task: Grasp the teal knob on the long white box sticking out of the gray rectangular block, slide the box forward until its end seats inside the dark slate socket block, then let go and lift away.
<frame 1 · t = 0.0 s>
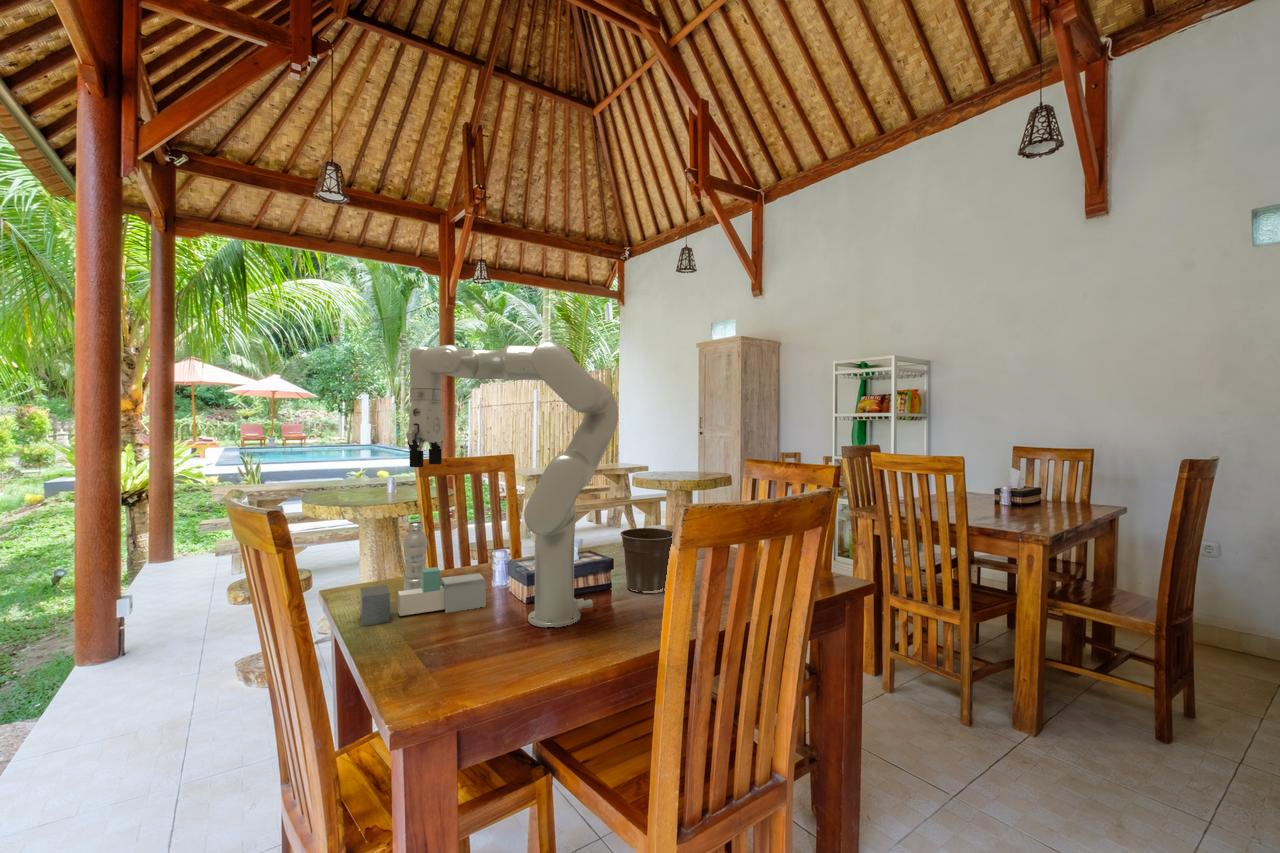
hand: (426, 465, 143), 37 cm above the table, tool pointing down, fingers open, 9 cm apart
gray rectangular block: (463, 606, 150), on the table
plastic bottle: (416, 594, 160), on the table
socket block: (374, 619, 140), on the table
long white box: (439, 588, 147), point 5 cm above the table, slide at 0.0 cm
plant pot: (648, 589, 166), on the table
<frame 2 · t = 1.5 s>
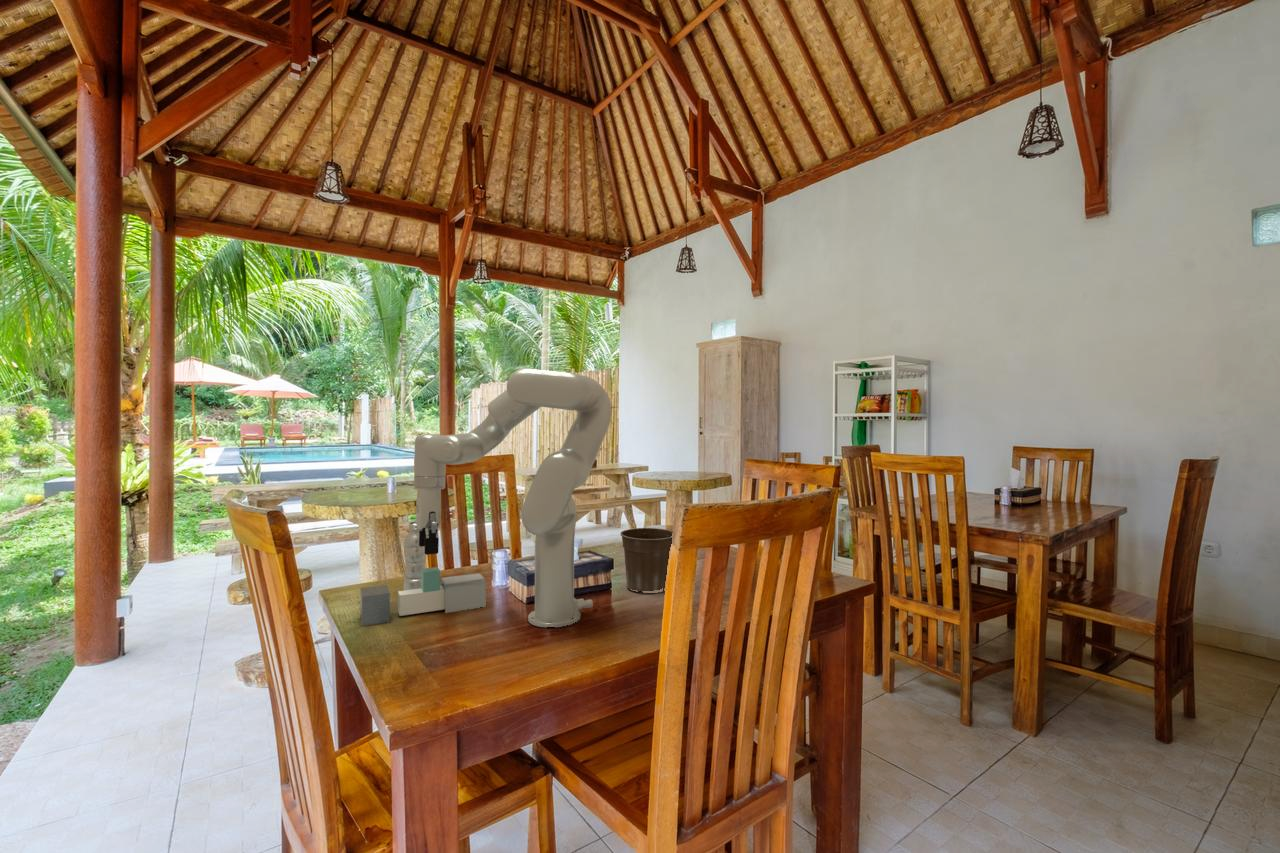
hand: (428, 549, 146), 16 cm above the table, tool pointing down, fingers open, 9 cm apart
nothing on the table moved.
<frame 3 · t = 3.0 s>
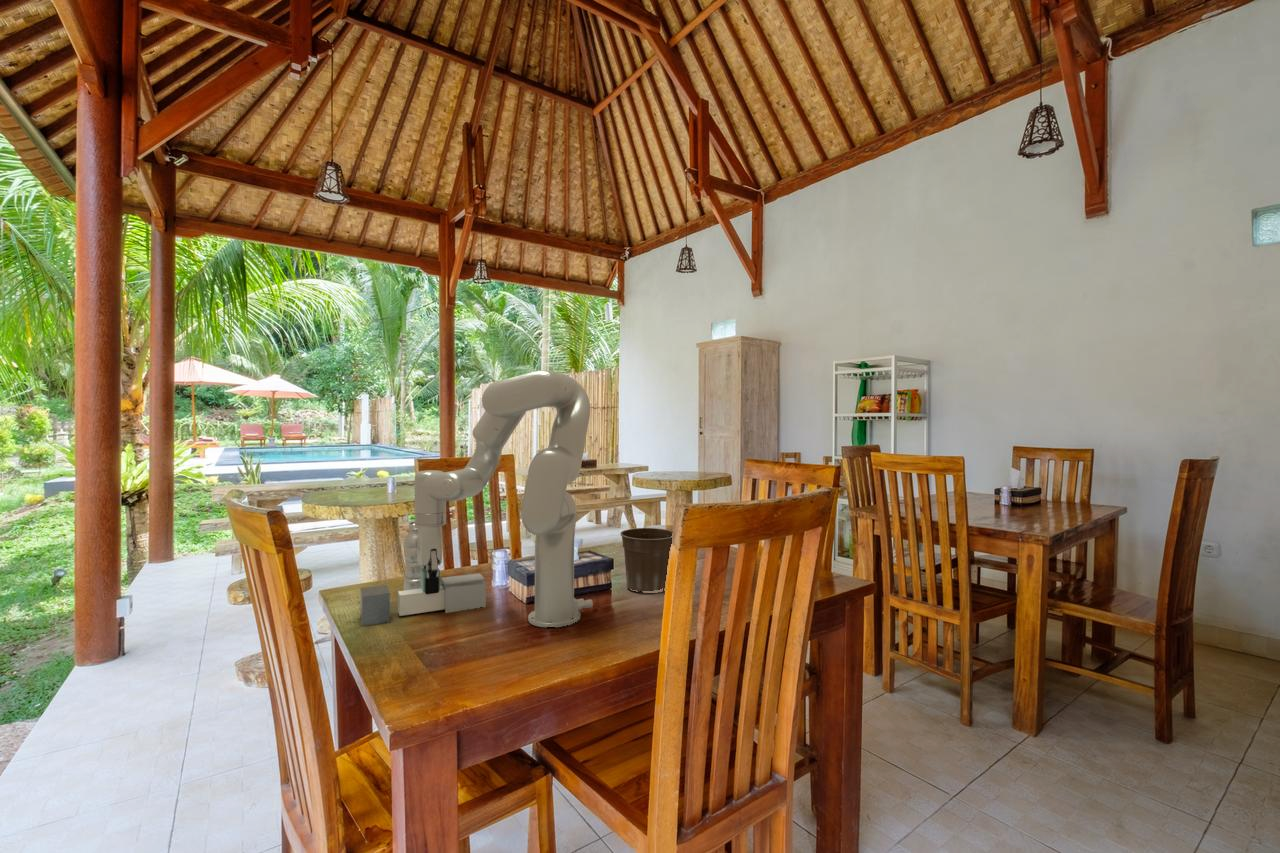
hand: (430, 590, 146), 5 cm above the table, tool pointing down, fingers closed on long white box, 4 cm apart
long white box: (439, 588, 147), point 5 cm above the table, slide at 0.0 cm, touching gripper
everything else where it was.
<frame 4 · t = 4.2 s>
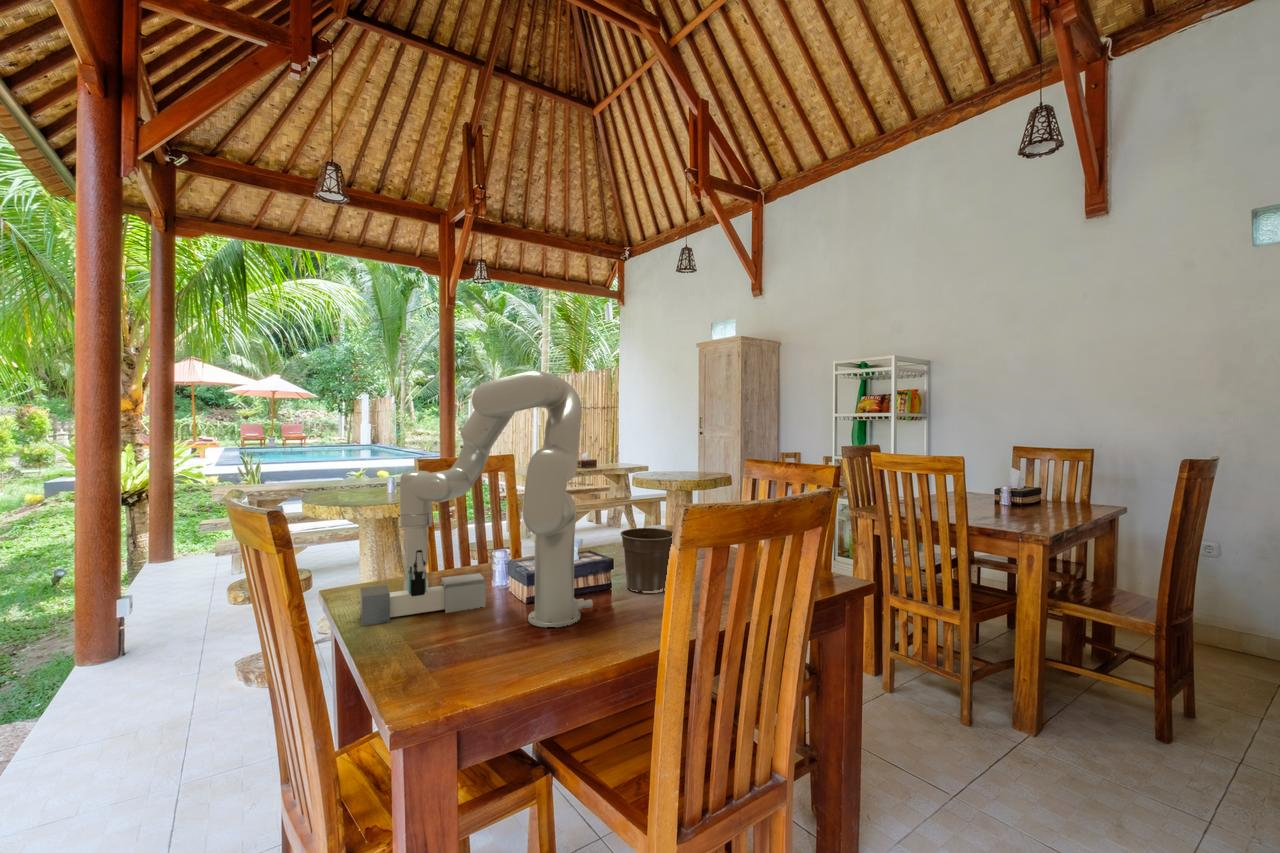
hand: (416, 591, 144), 5 cm above the table, tool pointing down, fingers closed on long white box, 4 cm apart
long white box: (426, 589, 145), point 5 cm above the table, slide at 3.3 cm, touching gripper
everything else where it was.
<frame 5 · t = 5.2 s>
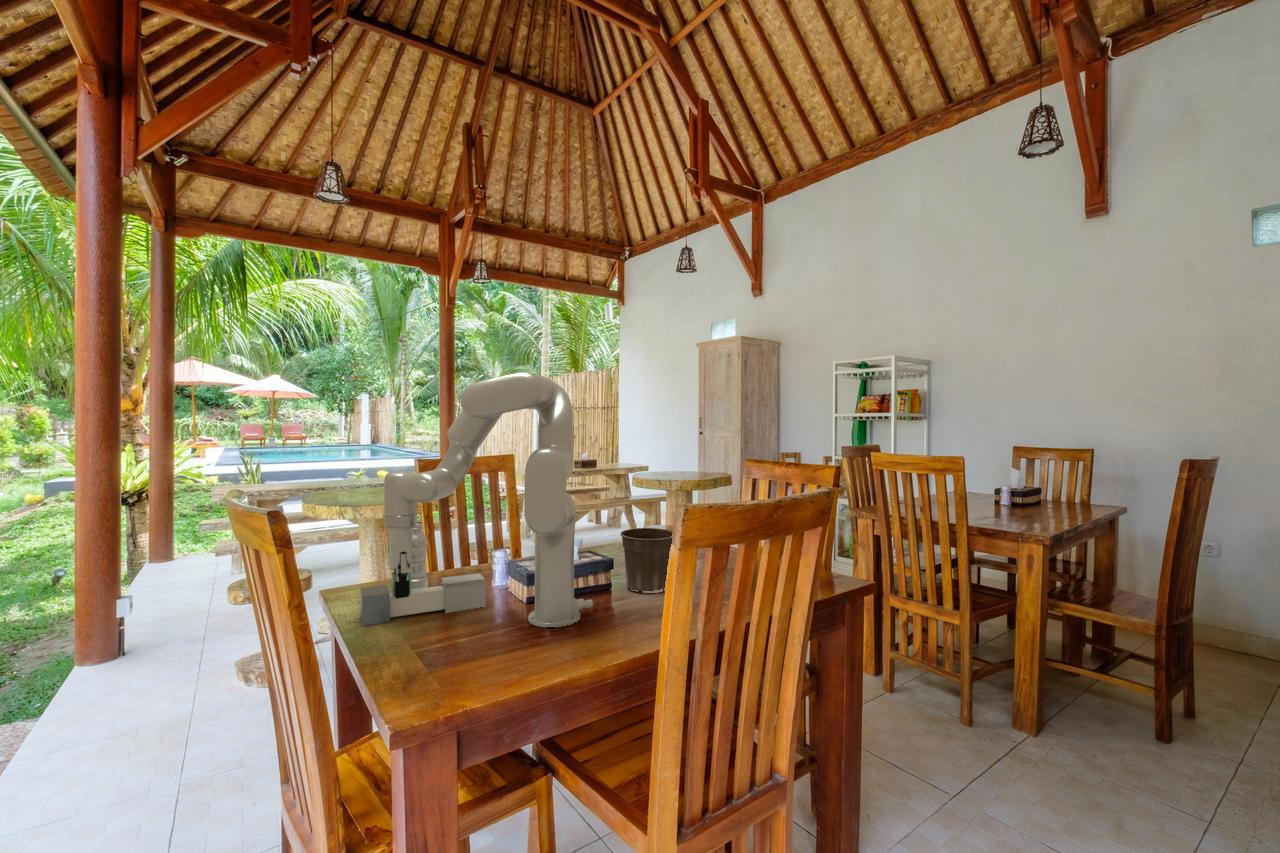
hand: (401, 593, 142), 5 cm above the table, tool pointing down, fingers closed on long white box, 4 cm apart
long white box: (410, 591, 143), point 5 cm above the table, slide at 7.0 cm, touching gripper
everything else where it was.
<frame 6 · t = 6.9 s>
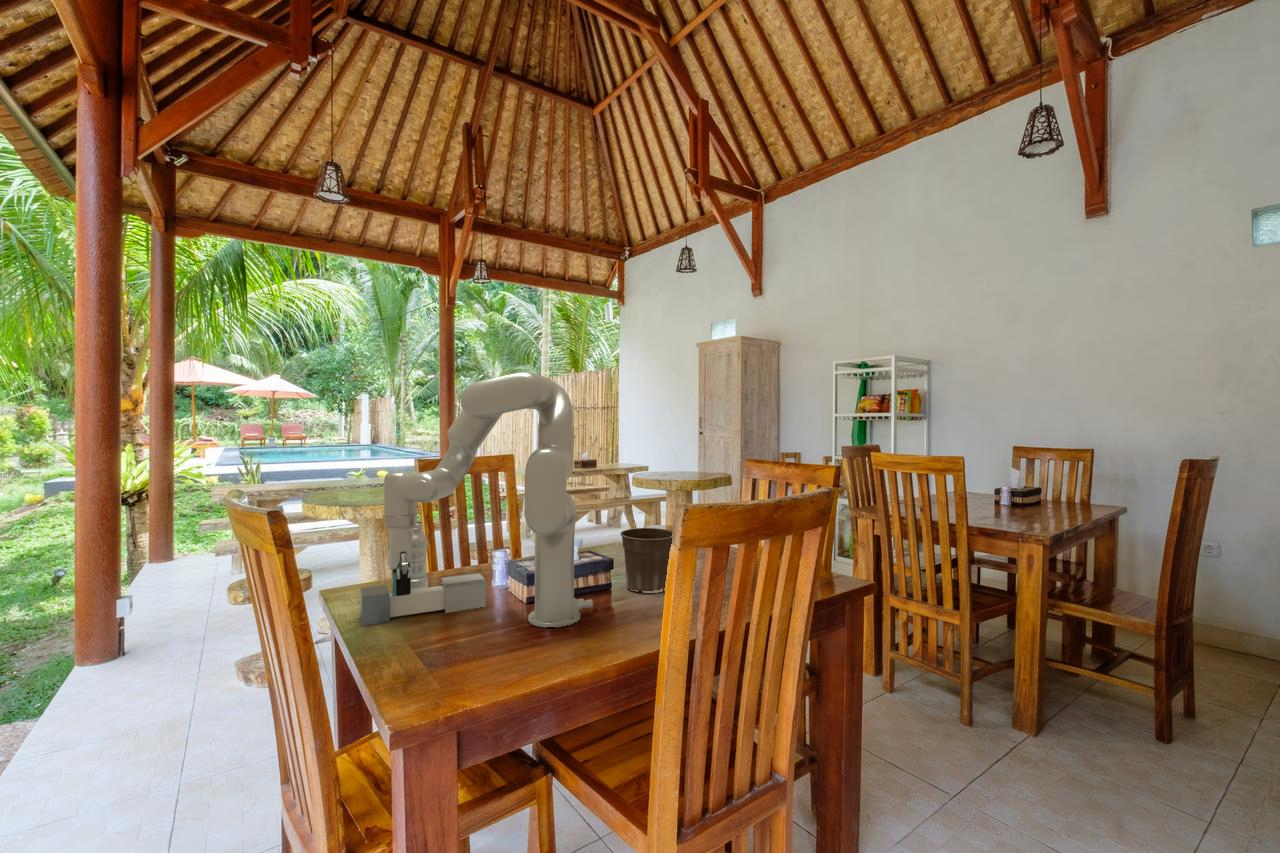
hand: (401, 589, 142), 6 cm above the table, tool pointing down, fingers open, 9 cm apart
long white box: (410, 591, 143), point 5 cm above the table, slide at 7.0 cm
everything else where it was.
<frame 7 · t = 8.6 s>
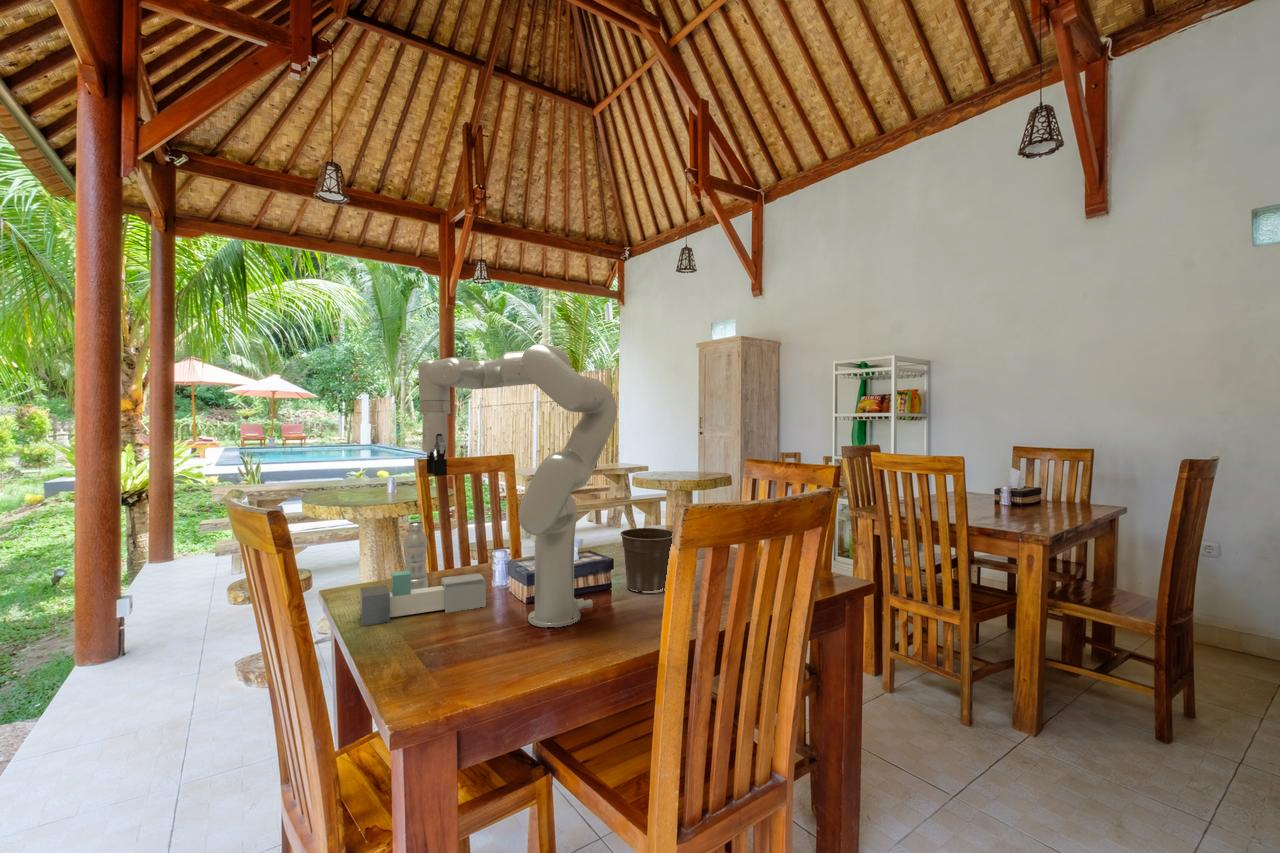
hand: (436, 474, 148), 35 cm above the table, tool pointing down, fingers open, 9 cm apart
nothing on the table moved.
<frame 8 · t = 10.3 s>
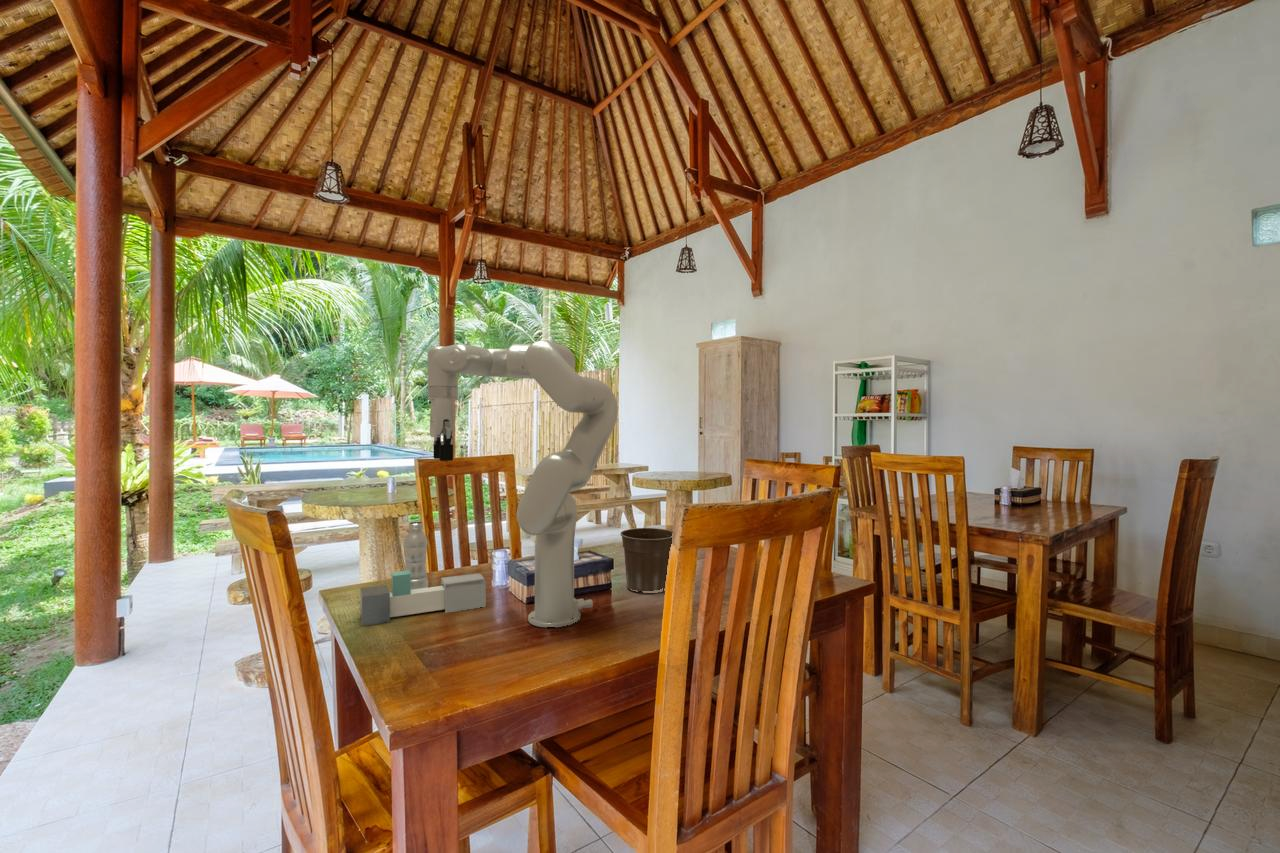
hand: (443, 459, 150), 38 cm above the table, tool pointing down, fingers open, 9 cm apart
nothing on the table moved.
at the end: long white box slide at 7.0 cm; the gripper is holding nothing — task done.
